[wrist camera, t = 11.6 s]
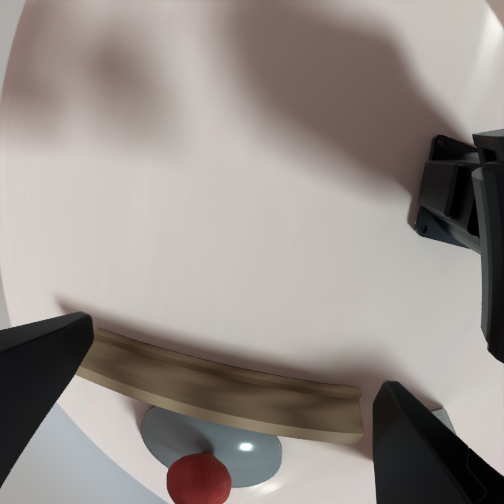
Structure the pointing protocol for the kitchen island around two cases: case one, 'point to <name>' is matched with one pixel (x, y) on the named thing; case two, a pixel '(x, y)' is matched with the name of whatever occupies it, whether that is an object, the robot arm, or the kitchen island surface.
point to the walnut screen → (224, 391)
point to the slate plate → (212, 445)
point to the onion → (198, 480)
